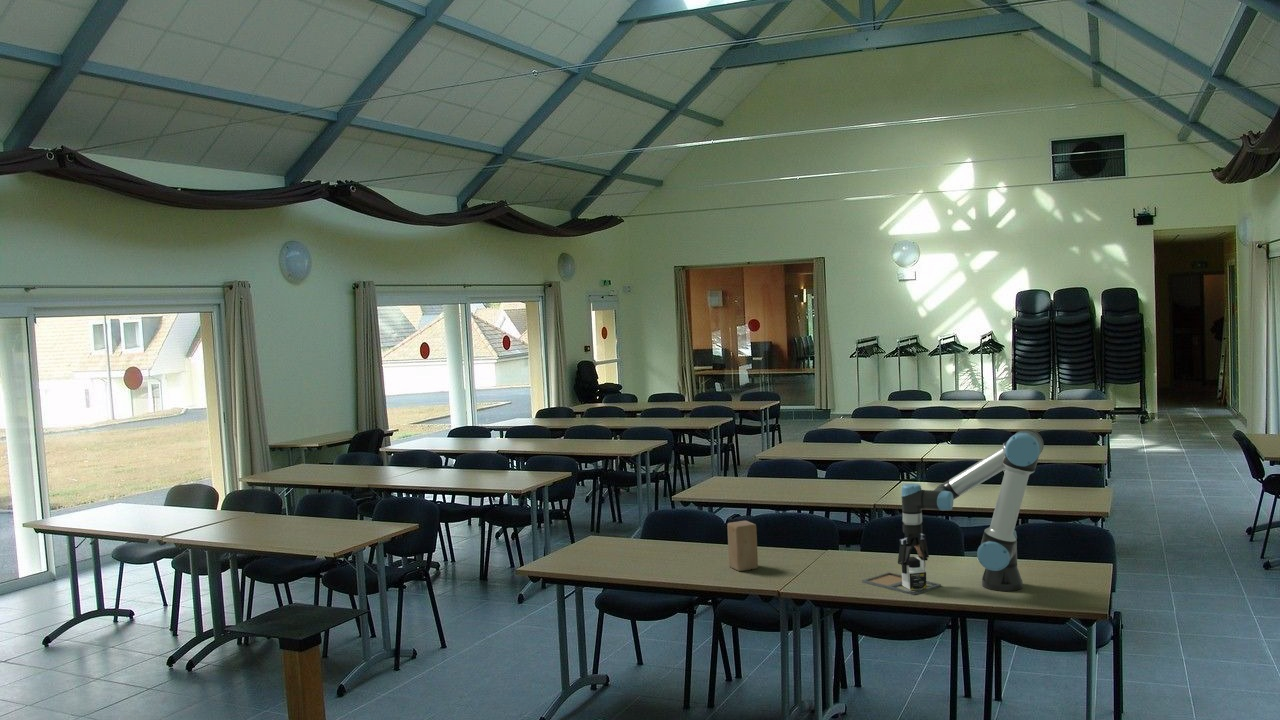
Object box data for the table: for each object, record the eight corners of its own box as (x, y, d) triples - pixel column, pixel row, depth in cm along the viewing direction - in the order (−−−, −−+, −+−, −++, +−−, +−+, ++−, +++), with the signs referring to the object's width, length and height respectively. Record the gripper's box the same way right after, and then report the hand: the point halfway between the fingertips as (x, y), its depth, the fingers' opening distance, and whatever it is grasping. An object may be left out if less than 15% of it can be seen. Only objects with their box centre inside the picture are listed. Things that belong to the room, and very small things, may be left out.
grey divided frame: (941, 586, 389) (941, 584, 389) (914, 595, 379) (914, 593, 379) (889, 574, 410) (889, 572, 410) (862, 582, 400) (862, 580, 400)
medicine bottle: (910, 590, 385) (909, 560, 385) (901, 585, 392) (901, 556, 392) (926, 588, 387) (926, 559, 386) (918, 584, 394) (917, 554, 393)
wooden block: (738, 572, 424) (736, 526, 423) (728, 567, 433) (726, 522, 432) (759, 569, 428) (757, 523, 427) (748, 563, 437) (746, 519, 436)
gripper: (921, 517, 398) (923, 571, 399) (886, 526, 385) (888, 582, 386) (937, 519, 392) (938, 574, 393) (902, 529, 379) (904, 586, 380)
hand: (914, 578), depth 389 cm, fingers closed on medicine bottle, 9 cm apart
